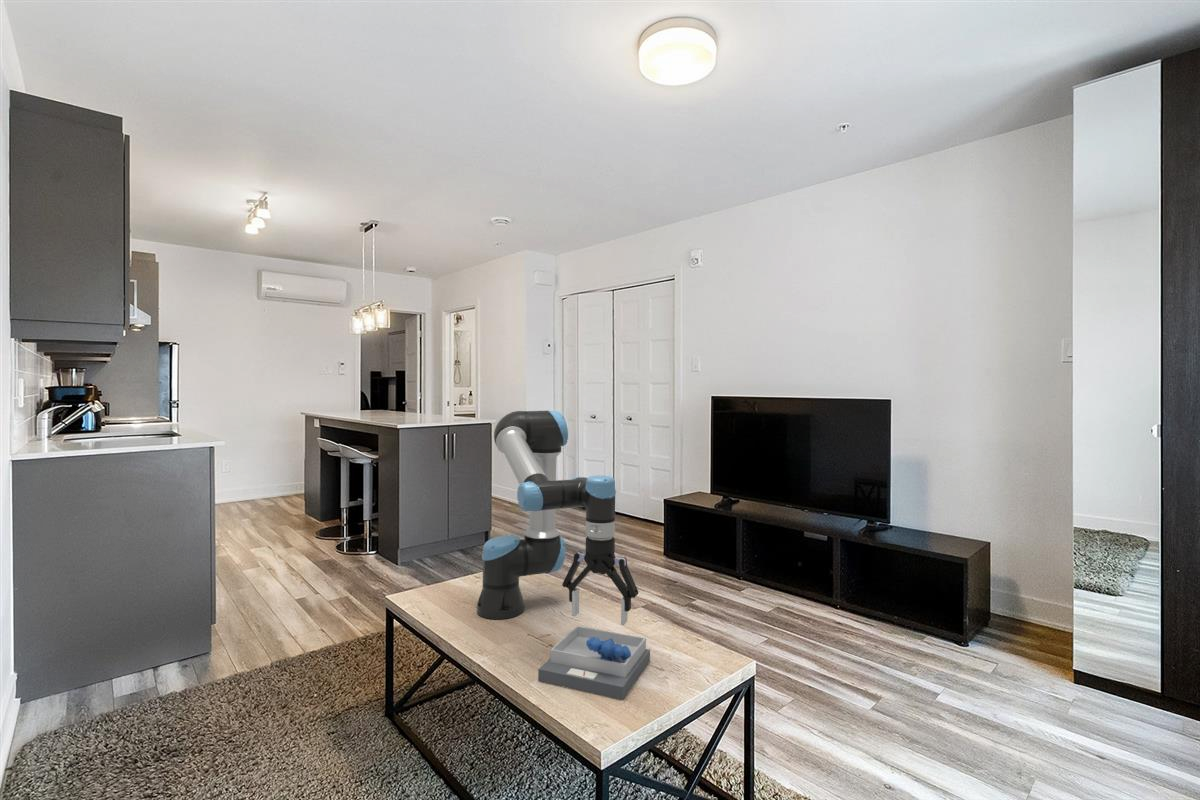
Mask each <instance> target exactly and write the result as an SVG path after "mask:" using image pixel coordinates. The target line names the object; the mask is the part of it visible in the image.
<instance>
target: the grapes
mask: <svg viewBox="0 0 1200 800" xmlns="http://www.w3.org/2000/svg"><path fill="white" fill-rule="evenodd" d="M586 645H587V647H588V648H589V650H590V651H591V650H593V651H594V652H597V653H598V654H600V655H601V657H600V659H605V660H610V661H612V658H613V659H616V658H619V657H621V659H622V660H625V659H627V658H629V657H630V656H631V652H630V650H629V648H628V647H627V646H623V647H622V646H621V644H619V645H618V643H617V644H615V643H614V641H613V640H612V638H610V639H608V640H606V641H600V639H599V638H595V637H592V638H589V639H588V640H587V641H586Z"/></svg>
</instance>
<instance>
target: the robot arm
mask: <svg viewBox="0 0 1200 800" xmlns="http://www.w3.org/2000/svg"><path fill="white" fill-rule="evenodd" d="M493 431H494V432H493V439H494V440H493V441H494V443H495V446H496V448H497V450H498V451H499V452H500V453H502V454H503V455H504V456H505V458H506V460H507V462H508V465H509V466H510V469H511V470H512V472H513V474H514V476H515V479H516V480H517V482H518V484H519V485H518V486H517V494H516V495H517V498H516V500H517V501H518V507H519V508H520V509H521V511H524V512H529V519H528V520H529V524H528V525H529V526H528V528H527V529H526V530H525V531H524V534H523V535H524V537H523V539H522V538H521V539H520V538H519V536H517V535H515V534H514V535H513V534H510V535H507V534H506V535H499V536H495V537H493V538H490V539H488V540H487V541H486V542H484V545H483V547H482V556H481V558H482V589H481V592H480V595H479V597H478V601H477V603H476V613H477V615H478V616H480V617H481V618H484V619H489V620H504V619H506V620H507V619H511V618H514V617H517V616H519V615H521V614H522V613H523V612H524V611H525V600H524V599H523V594H522V590H521V588H520V577H527V576H535V575H541V574H550V573H554V572H558V571H559V570H560V569H561V568H562V567H563V565H564V562H565V560H566V559H565V558H566V542H565V539H564V538H563V537H562V536H561V535H560V531H559V530H558V529H557V528H556V510H560V509H563V510H564V509H573V508H575V509H576V508H584V509H585V535H586V538H585V553H583V552H582V551H578V552H576V553H574V554H573V562H572V564H571V566H570V568H569V570H568V571H567V573H566V576H565V578H564V580H563V582H562V584H561V586H562V588H567V589H568V591H569V592H568V595H569V596H568V600H569V602H570V603H571V616H572V617H573V618H574V617H576V616H577V615H578V614H579V613H580V588H577V587H578V585H580V583H581V582H583V580H584V579H585V578H586V577H587V576H588V575H589V574H590V572H591V573H593V574H599V575H605V574H606V575H607V577H608V578H610V579H611V581H612V582H613V584H614V585H615V587H616V588H617V590H618V591H619V593H620V594H621V595H622V598H621V599H620V603H621V604H620V612H621V613H620V625H621V626H625V625H626V624H627V622H628V613H629V612H630V610H631V609H632V599H634V598H636V597H637V596H638V595H639V594H640V593H639V589H638V587H637V585H636V583H635V580H634V578H633V576H632V574H631V571H630V569H629V566H628V560H627V557H625V556H624V557H620V558H618V557H617V558H616V554H615V553H616V551H615V549H616V539H615V535H616V494H617V491H616V480H615V478H614V477H612V476H610V475H609V476H608V475H599V474H598V475H590V476H589V477H585V476H576V477H573V478H571V479H561V480H560V479H557V457H558V456H559V455H560V454H561V453H562V447H564V446H566V445H567V444H568V440H569V428H568V425H567V421H566V418H565V417H564V415H563V414H562V413H561V412H559V411H557V410H556V411H555V410H524V411H523V410H517V411H511V412H509V413H507V414H505V415H504V416H503V417H501V418H500V420H499V421H498V422H497V424H496V426H495V427H494V430H493ZM583 561H584V562H585V563H586V566H585V568H584V569H583V570H582V571H581V572H580V574H579V575H578V576H576V578H575V579H574V576H575V574H576V572H577V571H578V569H579V567H580V565H581V562H583ZM615 564H616V566H617V568H619V570H620V573H621V575H622V576H620V575H619V573H618V570H617V569H616V567H615ZM622 578H623V579H622ZM573 579H574V580H573ZM572 580H573V581H572Z"/></svg>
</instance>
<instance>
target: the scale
mask: <svg viewBox="0 0 1200 800" xmlns="http://www.w3.org/2000/svg"><path fill="white" fill-rule="evenodd" d="M592 637H595V638H599V639H600V641H606V640H608V639H610V638H612V640H613V641H614V643H615V644H617V643H618V645H619V644H621V646H622V647H623V646H627V647H628V648H629V650H630V652H631V656H630V657H629V658H627V659H625V660H622V659H621V657H619V658H616V659H613V658H612V661H610V660H605V659H600V657H601V655H600V654H598V653H597V652H594V651H593V650H591V651H590V650H589V648H588V647H587V645H586V641H587V640H588V639H589V638H592ZM650 662H651V650H650V649H648V648H647V638H646V637H642V636H636V635H630V634H624V633H618V632H613V631H608V630H601V629H595V628H590V627H584V626H579V625H577V626H576V627H573V629H572V630H571V631H569V632H568V633H567V634H566V635H565V636H564V637H563V638H562V639H561V640H560V641H558V642H557V643H556V644H555V645H554V646H553V647H551V649H550V658H549V659H548V660H547V661H545V662H544V663H543V664H542V665H541V666H540V667H539V668H538V669H537V672H538V673H537V674H538V675H537V677H538V682H540V683H544V682H545V684H548V683H549V685H553V684H554V685H553V686H557V685H559V686H558V687H562V686H564V688H566V687H568V689H572V690H575V689H576V691H579V692H580V691H581V692H586V693H589V694H593V695H598V696H602V697H607V698H612V699H617V700H621V701H623V700H625V698H626V697H627V694H629V692H630V690H631V689H632V688H633V686H634V685H635V683H636V682H637V681H638V679H639V677H641V674H642V673H643V672H644V670H645V669H646V668H647V666H648V664H649V663H650Z"/></svg>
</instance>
